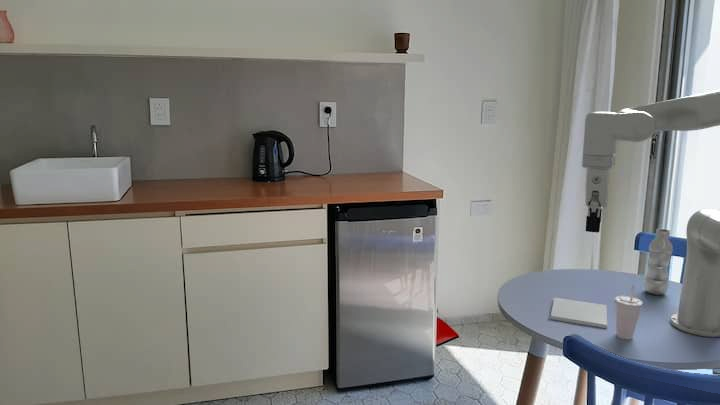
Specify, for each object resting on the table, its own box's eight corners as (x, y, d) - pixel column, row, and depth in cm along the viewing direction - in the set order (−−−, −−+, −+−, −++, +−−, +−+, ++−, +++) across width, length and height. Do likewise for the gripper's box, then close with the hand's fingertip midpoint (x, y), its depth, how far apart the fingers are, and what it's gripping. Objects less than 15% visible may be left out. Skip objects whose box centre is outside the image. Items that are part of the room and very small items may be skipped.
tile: (605, 308, 152) (606, 305, 152) (606, 328, 139) (607, 324, 139) (553, 300, 157) (554, 297, 157) (550, 319, 145) (550, 315, 144)
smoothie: (642, 343, 131) (648, 289, 128) (614, 340, 132) (620, 287, 129) (634, 331, 137) (640, 280, 134) (607, 329, 139) (613, 278, 136)
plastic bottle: (669, 292, 164) (678, 230, 159) (663, 299, 159) (672, 234, 155) (646, 287, 168) (654, 226, 164) (640, 293, 163) (648, 230, 159)
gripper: (614, 166, 125) (608, 237, 129) (615, 157, 140) (609, 220, 144) (580, 165, 128) (575, 234, 132) (584, 156, 143) (579, 218, 147)
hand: (593, 227), depth 138 cm, fingers open, 9 cm apart
